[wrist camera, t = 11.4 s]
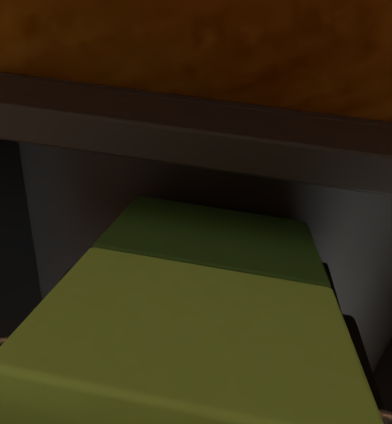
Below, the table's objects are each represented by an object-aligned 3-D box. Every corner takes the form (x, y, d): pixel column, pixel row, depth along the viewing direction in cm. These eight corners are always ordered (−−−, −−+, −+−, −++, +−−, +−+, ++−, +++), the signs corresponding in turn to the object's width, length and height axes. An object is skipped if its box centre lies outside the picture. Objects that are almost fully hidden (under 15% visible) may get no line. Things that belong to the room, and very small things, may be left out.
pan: (-5, 70, 10) (-103, 88, 7) (511, 136, 9) (626, 187, 6) (55, 432, 18) (20, 503, 16) (322, 491, 17) (334, 578, 14)
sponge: (137, 193, 9) (-22, 364, 4) (308, 220, 9) (398, 451, 4) (127, 375, 12) (21, 639, 6) (262, 403, 12) (273, 708, 6)
